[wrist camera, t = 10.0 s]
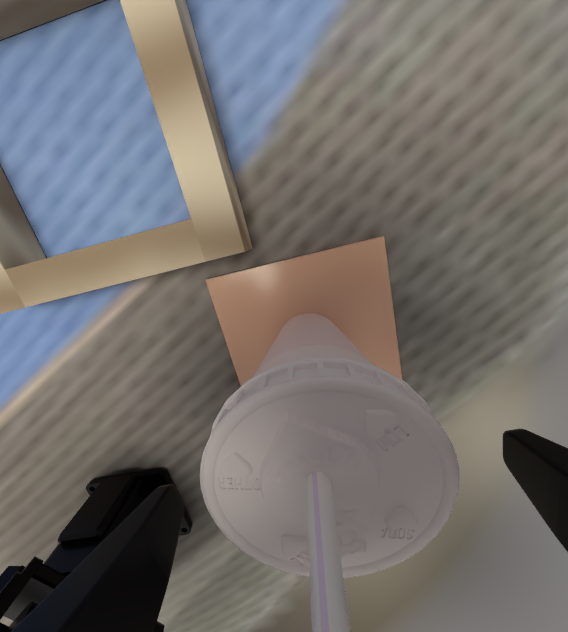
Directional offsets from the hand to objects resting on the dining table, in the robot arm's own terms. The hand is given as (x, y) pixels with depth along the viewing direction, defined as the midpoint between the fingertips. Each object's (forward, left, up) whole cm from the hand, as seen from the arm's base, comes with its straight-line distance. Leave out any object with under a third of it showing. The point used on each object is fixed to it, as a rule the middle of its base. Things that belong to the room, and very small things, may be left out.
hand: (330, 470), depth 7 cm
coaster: (0, 0, -10) cm, 10 cm away
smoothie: (0, 0, -9) cm, 9 cm away
